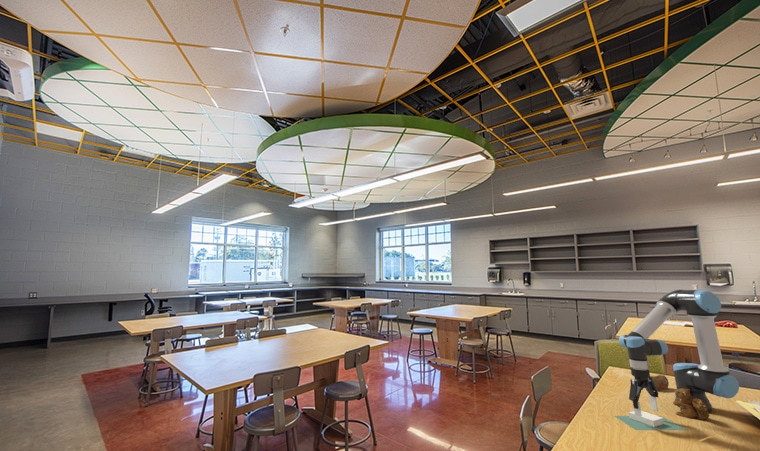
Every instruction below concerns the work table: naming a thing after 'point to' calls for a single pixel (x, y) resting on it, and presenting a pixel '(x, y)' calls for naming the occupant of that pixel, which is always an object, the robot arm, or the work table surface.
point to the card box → (647, 419)
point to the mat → (640, 426)
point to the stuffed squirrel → (690, 405)
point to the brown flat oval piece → (660, 382)
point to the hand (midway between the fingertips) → (646, 412)
